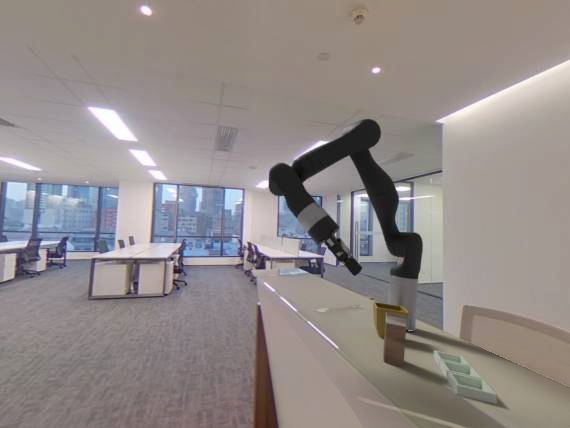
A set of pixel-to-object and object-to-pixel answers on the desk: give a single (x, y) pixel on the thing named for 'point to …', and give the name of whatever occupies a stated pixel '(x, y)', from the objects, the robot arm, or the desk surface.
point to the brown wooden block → (394, 339)
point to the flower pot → (380, 315)
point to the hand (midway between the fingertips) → (359, 272)
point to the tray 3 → (472, 388)
